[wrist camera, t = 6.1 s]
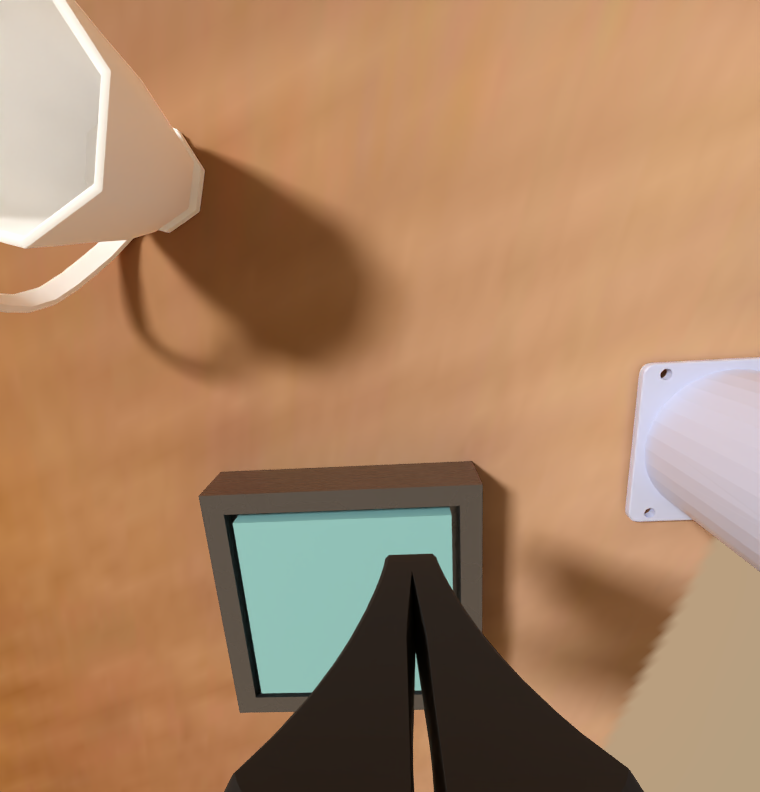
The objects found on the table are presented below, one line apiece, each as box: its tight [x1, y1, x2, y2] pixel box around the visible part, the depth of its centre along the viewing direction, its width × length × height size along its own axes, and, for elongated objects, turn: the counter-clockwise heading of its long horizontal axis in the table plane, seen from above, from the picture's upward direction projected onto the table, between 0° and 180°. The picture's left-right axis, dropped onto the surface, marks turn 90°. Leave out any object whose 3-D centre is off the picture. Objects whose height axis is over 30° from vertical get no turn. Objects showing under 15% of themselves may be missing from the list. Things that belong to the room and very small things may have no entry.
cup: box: [0, 0, 205, 313], centre depth 14 cm, size 7×10×8 cm
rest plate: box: [233, 506, 453, 693], centre depth 21 cm, size 10×10×2 cm
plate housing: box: [199, 461, 483, 713], centre depth 21 cm, size 13×13×2 cm
